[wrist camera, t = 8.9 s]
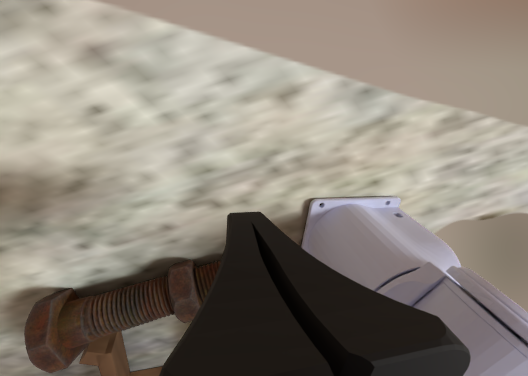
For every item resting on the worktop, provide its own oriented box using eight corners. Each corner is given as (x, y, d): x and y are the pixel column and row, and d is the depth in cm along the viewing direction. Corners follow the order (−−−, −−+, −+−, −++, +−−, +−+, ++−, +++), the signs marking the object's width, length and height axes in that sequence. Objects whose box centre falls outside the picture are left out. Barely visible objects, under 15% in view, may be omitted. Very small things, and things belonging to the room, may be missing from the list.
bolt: (232, 251, 26) (71, 297, 23) (228, 232, 22) (31, 286, 19) (247, 312, 23) (65, 372, 20) (246, 303, 19) (16, 378, 16)
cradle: (230, 303, 27) (234, 328, 24) (227, 360, 31) (230, 386, 28) (87, 322, 23) (75, 353, 21) (105, 383, 27) (97, 415, 25)
